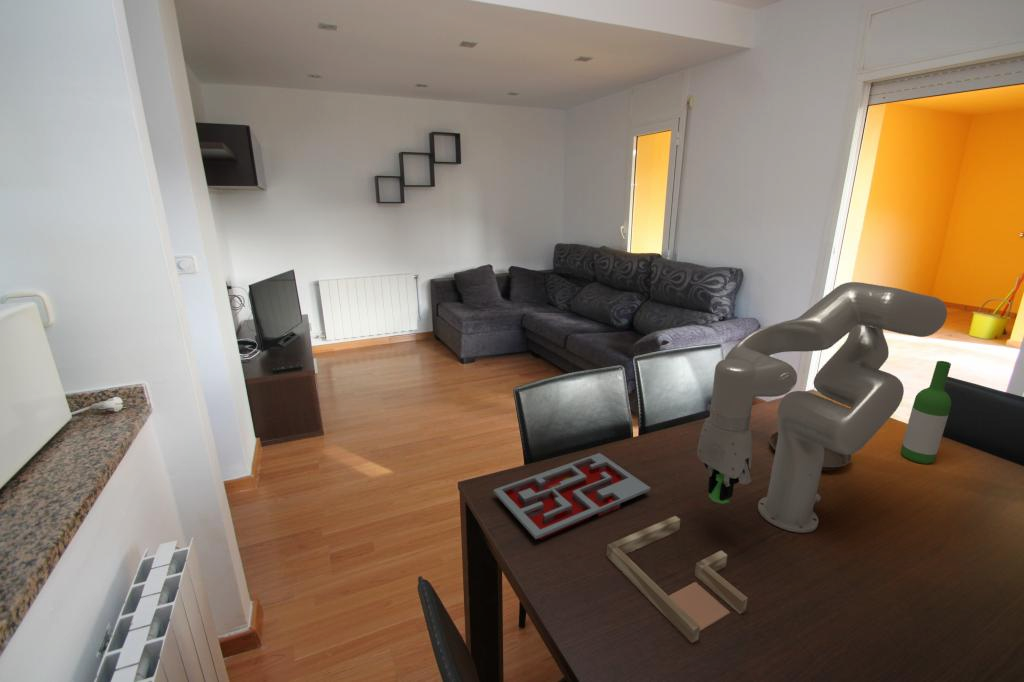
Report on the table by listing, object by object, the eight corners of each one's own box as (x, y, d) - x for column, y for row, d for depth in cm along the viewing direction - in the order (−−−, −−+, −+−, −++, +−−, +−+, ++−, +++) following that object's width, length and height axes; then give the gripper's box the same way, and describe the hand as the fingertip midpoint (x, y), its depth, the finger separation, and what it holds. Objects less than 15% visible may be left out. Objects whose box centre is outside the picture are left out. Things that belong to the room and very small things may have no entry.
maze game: (535, 548, 102) (535, 536, 101) (493, 500, 118) (493, 489, 117) (649, 498, 119) (650, 487, 118) (599, 462, 135) (599, 452, 134)
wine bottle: (931, 455, 137) (959, 360, 128) (936, 468, 131) (966, 369, 122) (897, 448, 141) (923, 356, 132) (901, 460, 135) (928, 363, 126)
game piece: (734, 498, 100) (737, 474, 98) (722, 506, 98) (725, 482, 96) (715, 489, 103) (718, 465, 102) (704, 496, 101) (707, 472, 99)
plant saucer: (807, 480, 126) (809, 470, 125) (752, 443, 145) (754, 434, 144) (867, 470, 130) (870, 460, 129) (807, 435, 149) (808, 426, 148)
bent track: (674, 526, 108) (675, 515, 107) (765, 598, 88) (768, 585, 87) (606, 556, 99) (607, 544, 98) (692, 643, 79) (693, 630, 78)
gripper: (685, 408, 100) (678, 481, 105) (752, 440, 86) (740, 522, 92) (709, 400, 103) (701, 471, 109) (777, 430, 90) (764, 510, 95)
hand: (719, 494), depth 100 cm, fingers closed on game piece, 2 cm apart
